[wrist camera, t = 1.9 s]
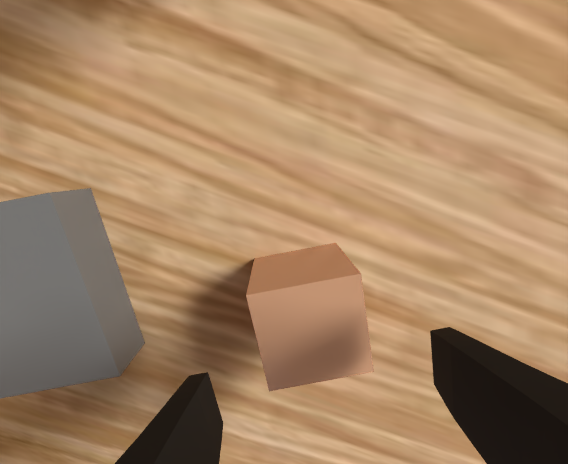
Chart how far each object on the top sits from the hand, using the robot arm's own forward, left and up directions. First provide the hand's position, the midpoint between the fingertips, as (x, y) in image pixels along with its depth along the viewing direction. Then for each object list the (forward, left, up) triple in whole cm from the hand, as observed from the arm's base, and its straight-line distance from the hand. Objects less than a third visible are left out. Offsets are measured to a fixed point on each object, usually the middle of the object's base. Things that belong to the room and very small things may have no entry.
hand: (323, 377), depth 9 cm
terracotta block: (0, 0, -7) cm, 7 cm away
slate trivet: (+3, +14, -7) cm, 16 cm away
